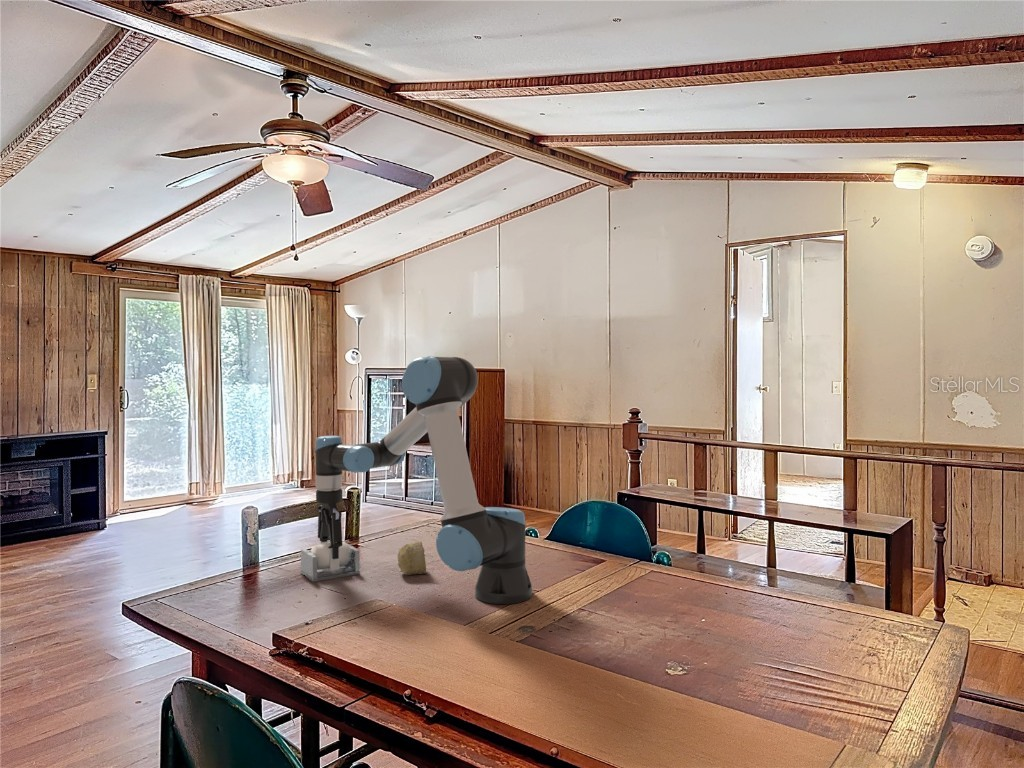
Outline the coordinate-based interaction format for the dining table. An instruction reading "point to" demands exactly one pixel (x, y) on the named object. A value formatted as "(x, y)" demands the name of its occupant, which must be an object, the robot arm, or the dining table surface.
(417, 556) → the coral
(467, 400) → the robot arm
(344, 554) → the roll
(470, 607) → the dining table surface
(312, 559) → the cradle
